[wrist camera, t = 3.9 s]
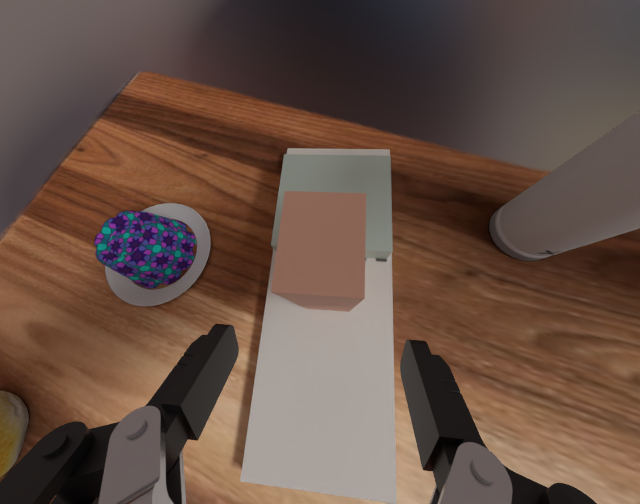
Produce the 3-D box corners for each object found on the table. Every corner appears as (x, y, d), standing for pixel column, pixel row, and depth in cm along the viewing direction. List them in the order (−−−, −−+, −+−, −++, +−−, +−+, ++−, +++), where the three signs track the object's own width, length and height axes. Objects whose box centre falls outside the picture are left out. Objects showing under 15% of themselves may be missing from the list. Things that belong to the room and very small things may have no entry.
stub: (310, 257, 23) (284, 191, 11) (350, 259, 22) (366, 193, 11) (306, 308, 21) (270, 292, 10) (349, 311, 21) (364, 298, 9)
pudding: (123, 210, 28) (76, 186, 23) (217, 202, 27) (191, 175, 22) (100, 310, 24) (39, 307, 19) (209, 303, 24) (175, 297, 19)
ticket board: (289, 155, 28) (282, 131, 25) (387, 156, 27) (395, 132, 24) (246, 471, 19) (225, 505, 15) (392, 492, 18) (406, 533, 14)
